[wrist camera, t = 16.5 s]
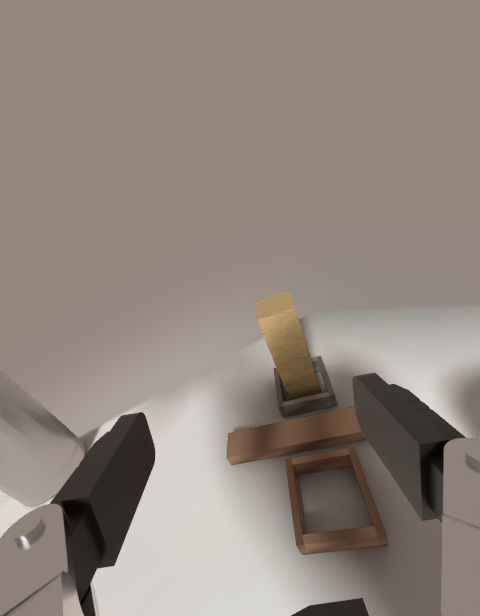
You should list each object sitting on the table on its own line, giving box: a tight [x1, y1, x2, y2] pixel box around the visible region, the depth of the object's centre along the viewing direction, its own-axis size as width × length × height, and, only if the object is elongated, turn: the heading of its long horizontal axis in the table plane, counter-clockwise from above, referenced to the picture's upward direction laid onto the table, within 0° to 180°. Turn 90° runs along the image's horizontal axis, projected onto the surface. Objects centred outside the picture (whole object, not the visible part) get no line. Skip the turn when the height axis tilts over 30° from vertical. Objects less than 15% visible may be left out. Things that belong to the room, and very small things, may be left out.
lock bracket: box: [227, 356, 388, 555], centre depth 29 cm, size 20×20×2 cm
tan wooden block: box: [256, 291, 321, 400], centre depth 32 cm, size 4×4×14 cm
